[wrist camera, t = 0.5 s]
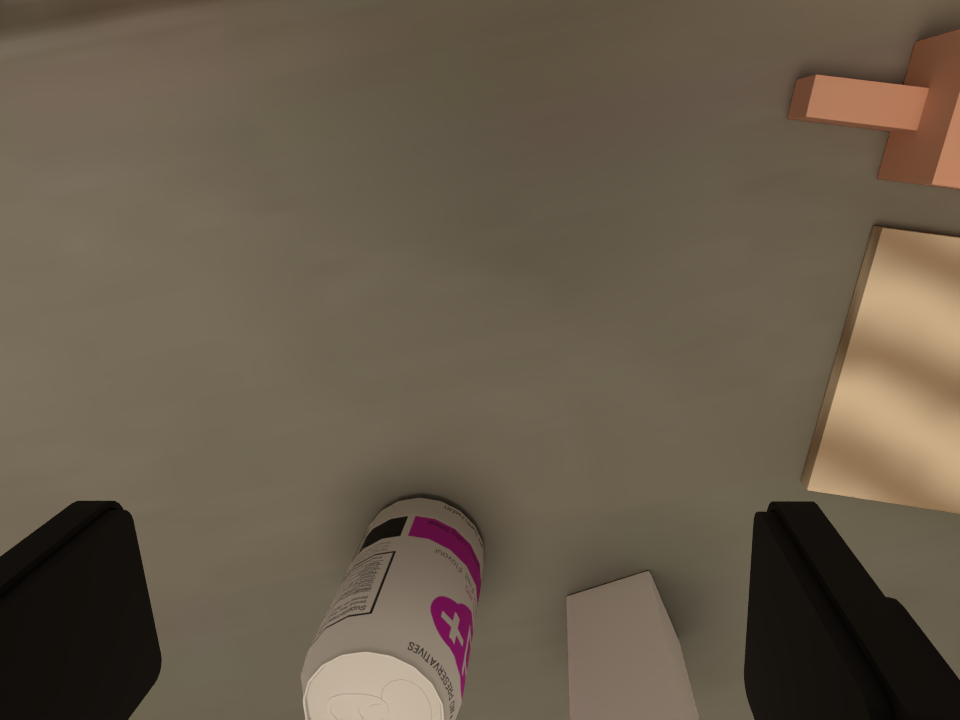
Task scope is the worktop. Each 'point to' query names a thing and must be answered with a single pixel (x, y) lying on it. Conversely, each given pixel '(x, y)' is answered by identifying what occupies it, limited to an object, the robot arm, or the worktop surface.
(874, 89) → the square nut with handle
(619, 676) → the milk
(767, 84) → the worktop surface
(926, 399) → the post base
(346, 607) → the supplement can
